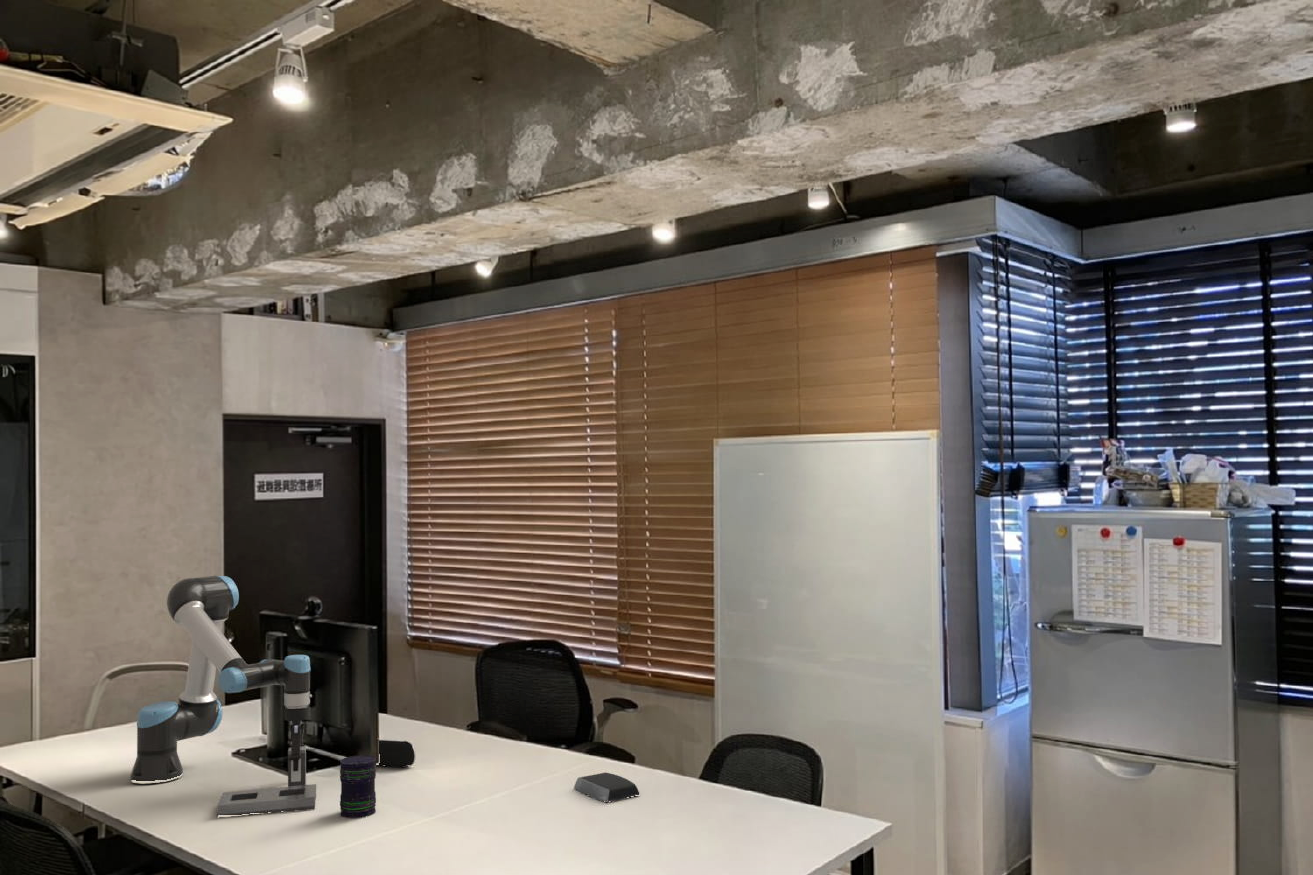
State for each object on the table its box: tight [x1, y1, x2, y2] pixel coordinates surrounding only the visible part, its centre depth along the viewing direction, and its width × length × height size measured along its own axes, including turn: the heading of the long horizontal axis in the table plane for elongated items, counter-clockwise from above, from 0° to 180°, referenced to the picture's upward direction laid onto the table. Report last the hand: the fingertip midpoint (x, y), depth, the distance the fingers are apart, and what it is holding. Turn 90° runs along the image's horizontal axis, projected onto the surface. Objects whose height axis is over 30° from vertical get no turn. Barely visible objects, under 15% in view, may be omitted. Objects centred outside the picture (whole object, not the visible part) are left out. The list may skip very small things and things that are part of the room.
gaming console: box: [378, 738, 417, 767], centre depth 346 cm, size 19×9×2 cm
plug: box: [287, 745, 307, 787], centre depth 322 cm, size 4×5×12 cm
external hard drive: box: [573, 772, 640, 803], centre depth 312 cm, size 13×19×4 cm
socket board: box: [216, 783, 317, 817], centre depth 303 cm, size 14×26×4 cm, turn 106°
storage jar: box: [339, 754, 377, 819], centre depth 296 cm, size 10×10×15 cm
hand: (297, 775), depth 322 cm, fingers open, 13 cm apart
